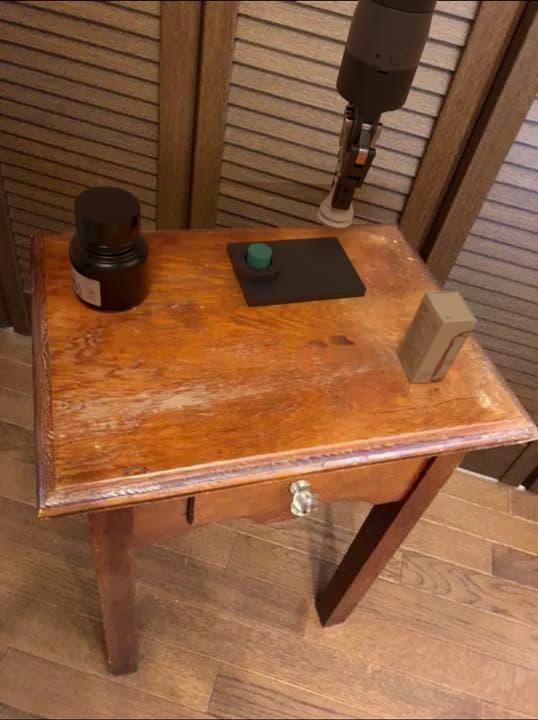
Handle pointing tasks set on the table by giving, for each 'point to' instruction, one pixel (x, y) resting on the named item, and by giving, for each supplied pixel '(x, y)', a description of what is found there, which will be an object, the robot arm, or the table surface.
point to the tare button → (259, 255)
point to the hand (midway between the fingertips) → (339, 198)
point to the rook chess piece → (334, 210)
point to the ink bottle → (108, 250)
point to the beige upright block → (435, 336)
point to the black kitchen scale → (296, 272)
